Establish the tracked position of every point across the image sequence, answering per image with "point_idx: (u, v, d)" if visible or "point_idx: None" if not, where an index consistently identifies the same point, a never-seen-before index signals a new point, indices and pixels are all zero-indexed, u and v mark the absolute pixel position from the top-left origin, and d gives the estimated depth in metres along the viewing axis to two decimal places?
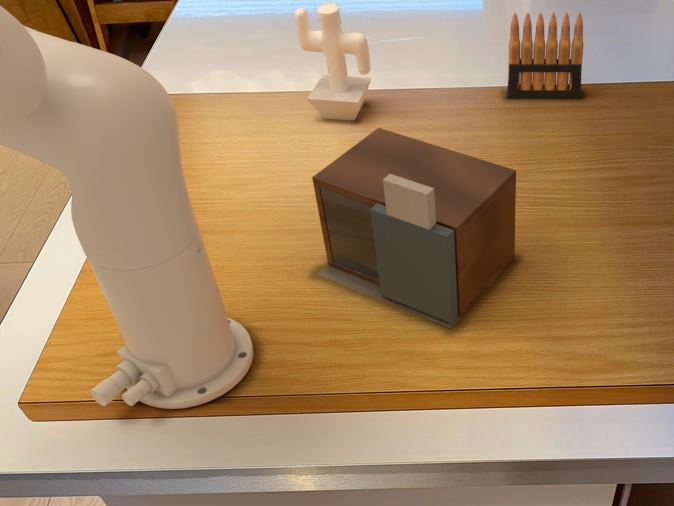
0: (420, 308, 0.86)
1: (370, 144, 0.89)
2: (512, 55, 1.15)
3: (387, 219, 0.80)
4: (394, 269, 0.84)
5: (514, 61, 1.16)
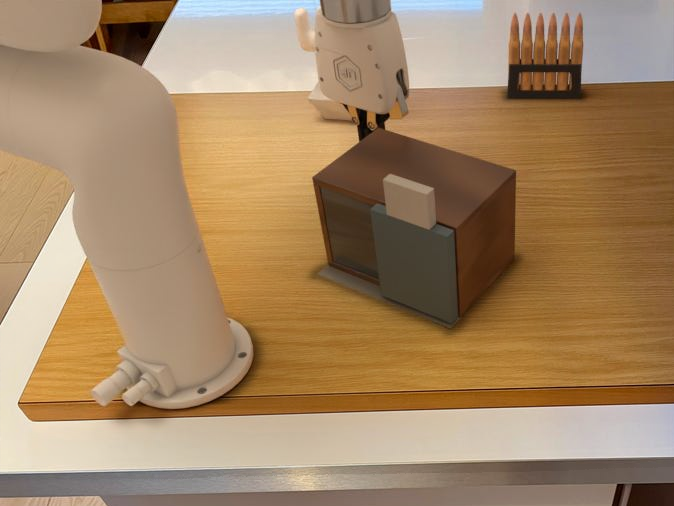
0: (420, 308, 0.86)
1: (370, 144, 0.89)
2: (512, 55, 1.15)
3: (387, 219, 0.80)
4: (394, 269, 0.84)
5: (514, 61, 1.16)
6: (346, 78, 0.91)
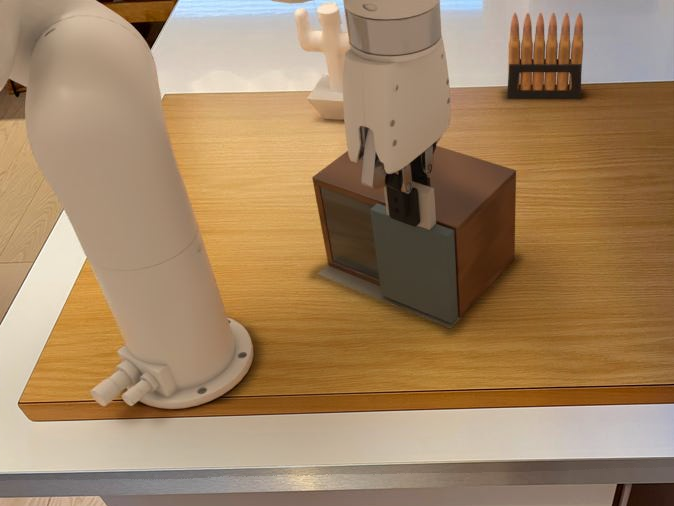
0: (420, 308, 0.86)
1: None
2: (512, 55, 1.15)
3: (387, 219, 0.80)
4: (394, 269, 0.84)
5: (514, 61, 1.16)
6: None
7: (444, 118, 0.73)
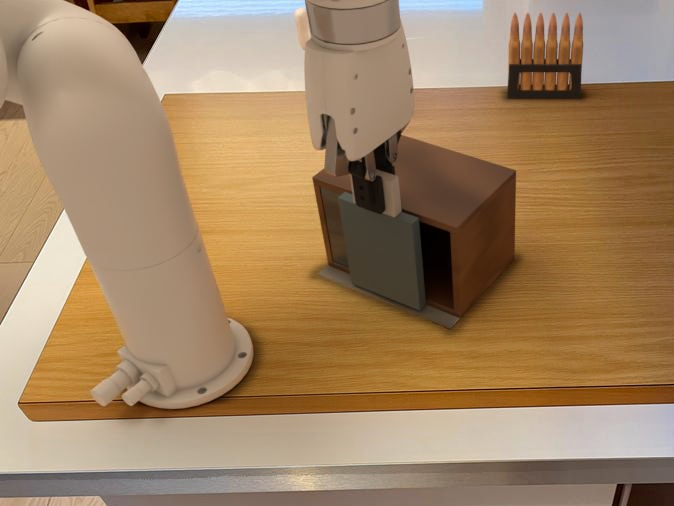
0: (389, 295, 0.87)
1: None
2: (512, 55, 1.15)
3: (354, 207, 0.81)
4: (362, 257, 0.85)
5: (514, 61, 1.16)
6: None
7: (408, 108, 0.75)
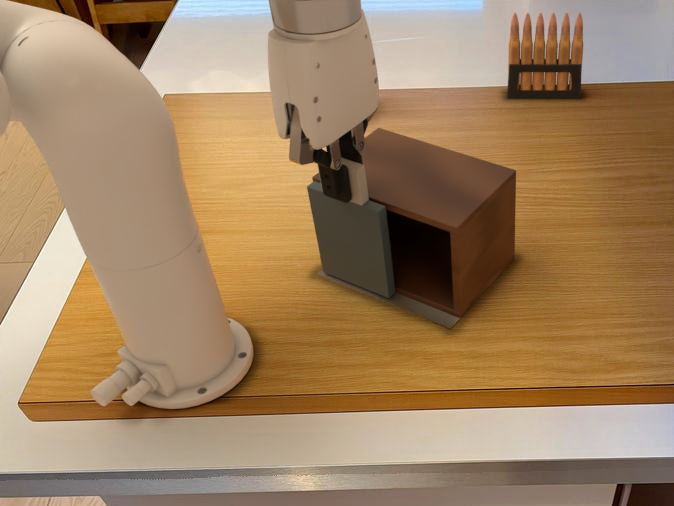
0: (359, 283, 0.89)
1: (370, 144, 0.89)
2: (512, 55, 1.15)
3: (323, 196, 0.83)
4: (332, 246, 0.87)
5: (514, 61, 1.16)
6: None
7: (372, 97, 0.76)
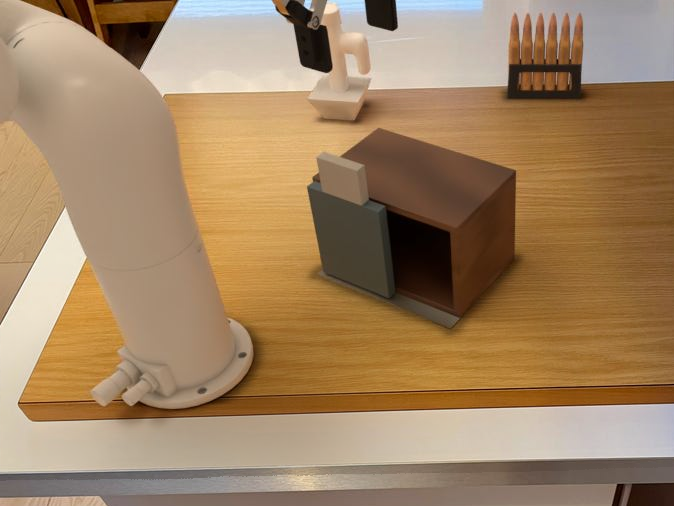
0: (359, 283, 0.89)
1: (370, 144, 0.89)
2: (512, 55, 1.15)
3: (323, 196, 0.83)
4: (332, 246, 0.87)
5: (514, 61, 1.16)
6: None
7: None
